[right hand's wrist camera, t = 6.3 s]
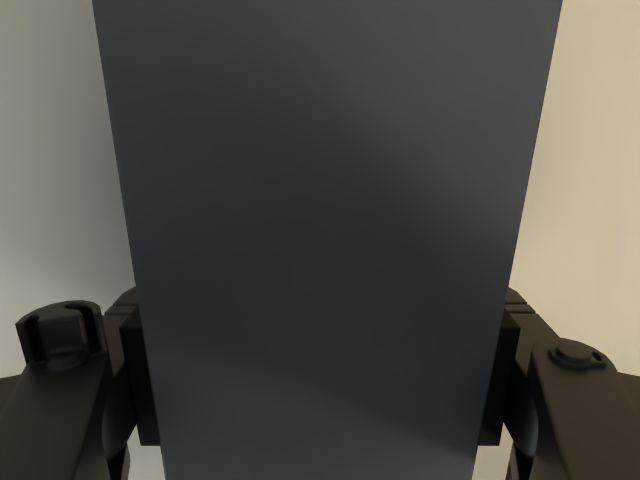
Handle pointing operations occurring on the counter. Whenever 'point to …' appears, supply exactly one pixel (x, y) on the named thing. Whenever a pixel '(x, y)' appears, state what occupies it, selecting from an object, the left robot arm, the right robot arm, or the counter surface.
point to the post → (323, 223)
